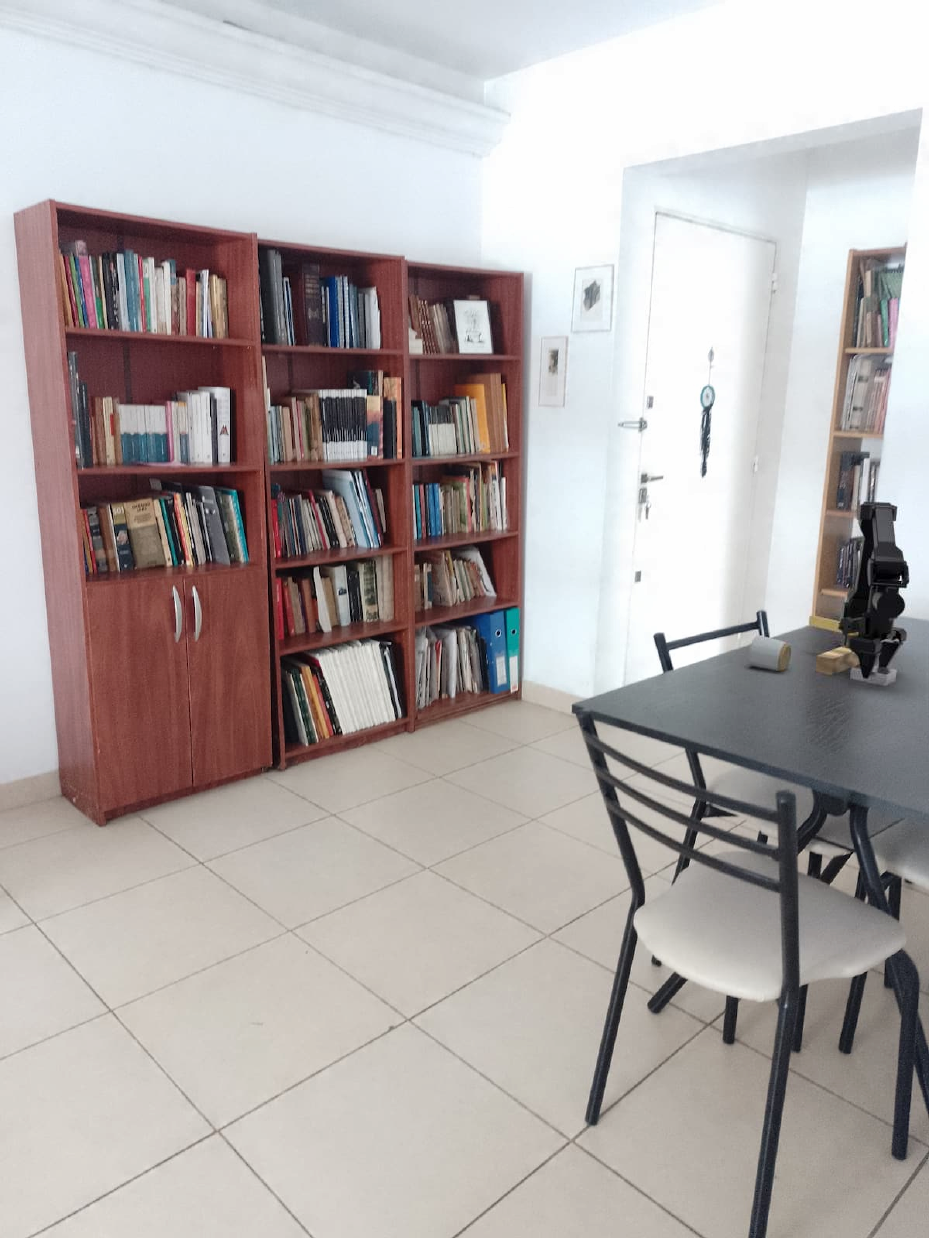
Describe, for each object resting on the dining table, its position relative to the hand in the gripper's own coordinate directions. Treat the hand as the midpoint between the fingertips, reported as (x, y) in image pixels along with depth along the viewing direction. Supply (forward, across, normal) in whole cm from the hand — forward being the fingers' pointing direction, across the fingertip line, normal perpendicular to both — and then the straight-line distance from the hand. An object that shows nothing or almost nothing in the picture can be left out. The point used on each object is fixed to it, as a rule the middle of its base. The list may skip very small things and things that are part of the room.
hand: (873, 674), depth 213 cm
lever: (-6, -10, -15) cm, 19 cm away
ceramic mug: (+2, +9, -21) cm, 23 cm away
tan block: (+1, -4, -10) cm, 11 cm away
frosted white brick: (+2, 0, 0) cm, 2 cm away
